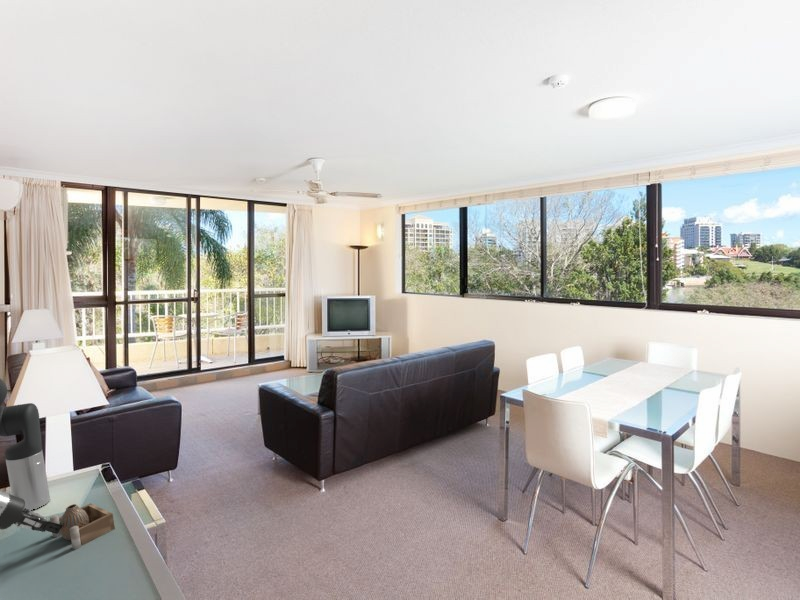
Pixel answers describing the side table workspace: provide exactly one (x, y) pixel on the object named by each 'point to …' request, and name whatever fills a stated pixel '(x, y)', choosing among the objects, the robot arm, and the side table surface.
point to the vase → (72, 520)
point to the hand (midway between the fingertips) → (58, 529)
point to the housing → (89, 526)
